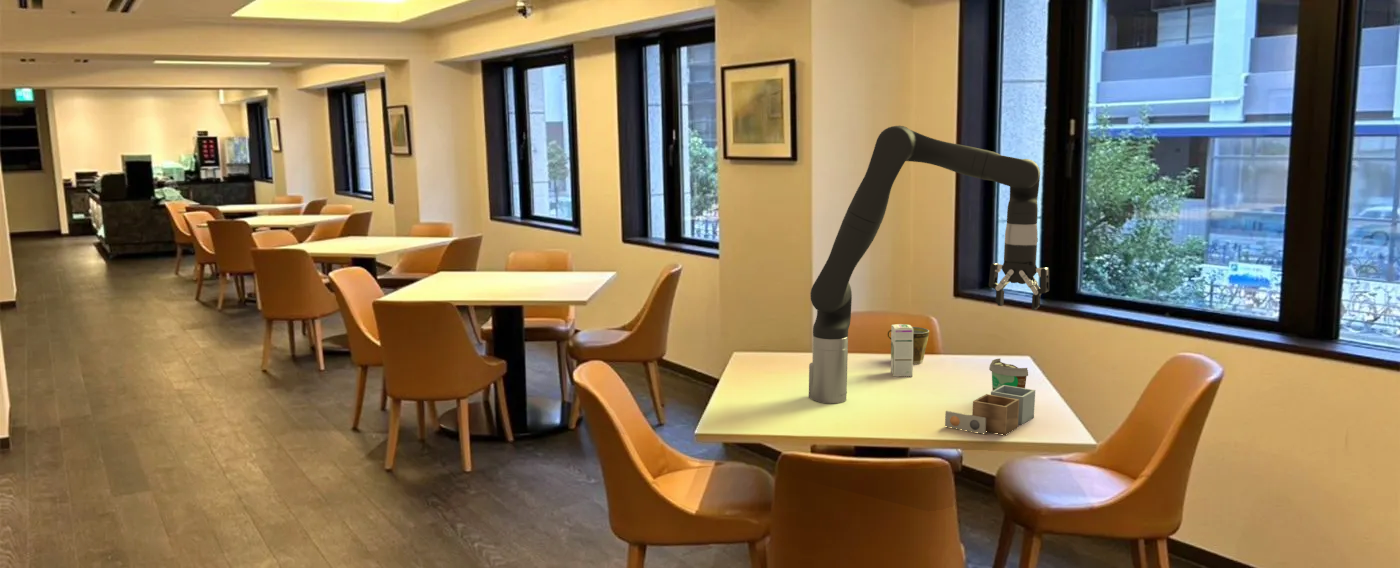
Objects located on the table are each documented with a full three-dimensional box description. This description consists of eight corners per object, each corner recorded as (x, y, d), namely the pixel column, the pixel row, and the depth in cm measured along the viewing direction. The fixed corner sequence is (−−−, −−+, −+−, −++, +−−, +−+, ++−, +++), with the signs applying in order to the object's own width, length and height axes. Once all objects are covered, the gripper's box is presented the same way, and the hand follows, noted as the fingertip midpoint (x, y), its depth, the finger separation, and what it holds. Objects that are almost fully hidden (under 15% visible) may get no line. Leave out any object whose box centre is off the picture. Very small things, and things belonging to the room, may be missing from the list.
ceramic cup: (932, 360, 314) (933, 328, 312) (921, 367, 305) (922, 334, 304) (892, 355, 321) (893, 324, 319) (880, 361, 312) (881, 330, 311)
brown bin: (971, 429, 244) (973, 401, 243) (985, 421, 251) (986, 394, 250) (1004, 435, 239) (1006, 407, 238) (1017, 427, 246) (1019, 399, 245)
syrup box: (913, 376, 294) (914, 327, 292) (892, 376, 294) (894, 327, 292) (909, 372, 300) (911, 323, 297) (889, 372, 300) (890, 323, 297)
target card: (944, 427, 246) (945, 411, 245) (946, 426, 247) (946, 410, 246) (984, 434, 240) (985, 418, 239) (985, 434, 241) (986, 417, 240)
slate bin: (989, 418, 253) (990, 391, 252) (1002, 411, 259) (1003, 384, 258) (1021, 424, 248) (1023, 397, 247) (1033, 417, 254) (1035, 390, 253)
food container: (978, 395, 274) (979, 359, 272) (997, 393, 276) (999, 357, 274) (1007, 407, 263) (1009, 370, 261) (1026, 405, 265) (1028, 368, 263)
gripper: (986, 241, 248) (983, 306, 250) (1044, 245, 239) (1040, 313, 242) (998, 238, 254) (995, 302, 256) (1055, 242, 245) (1051, 308, 248)
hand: (1017, 307), depth 249 cm, fingers open, 8 cm apart
